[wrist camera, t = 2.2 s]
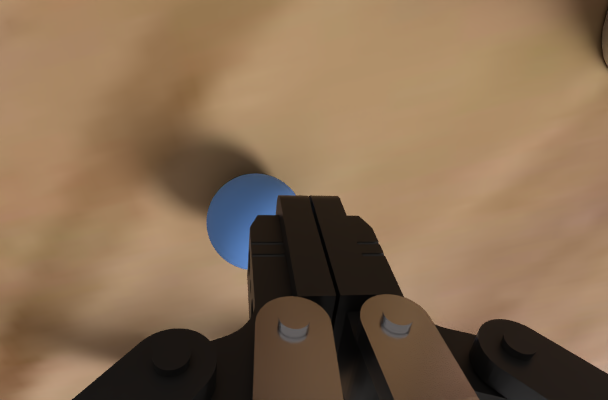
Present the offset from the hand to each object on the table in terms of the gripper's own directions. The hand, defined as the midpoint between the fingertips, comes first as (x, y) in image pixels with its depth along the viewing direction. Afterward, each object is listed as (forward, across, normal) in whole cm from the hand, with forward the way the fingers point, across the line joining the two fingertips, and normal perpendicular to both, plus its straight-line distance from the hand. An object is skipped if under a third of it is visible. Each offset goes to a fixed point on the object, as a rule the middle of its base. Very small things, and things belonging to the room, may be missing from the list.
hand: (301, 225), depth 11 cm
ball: (+14, 0, +9) cm, 17 cm away
